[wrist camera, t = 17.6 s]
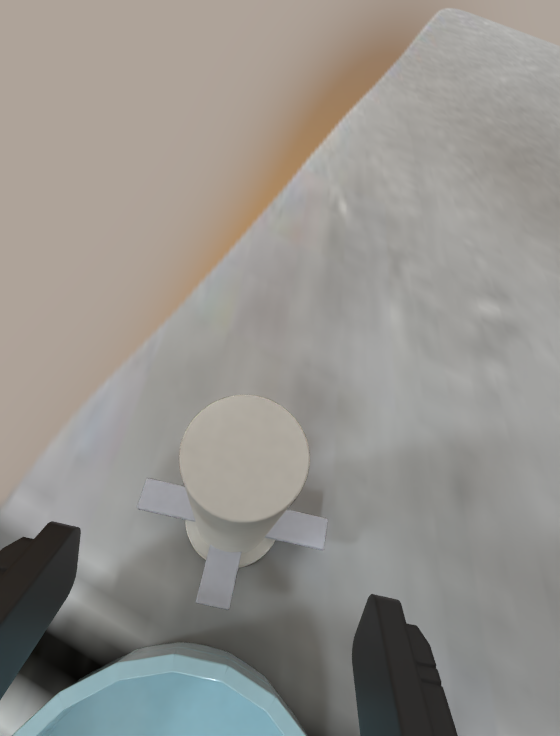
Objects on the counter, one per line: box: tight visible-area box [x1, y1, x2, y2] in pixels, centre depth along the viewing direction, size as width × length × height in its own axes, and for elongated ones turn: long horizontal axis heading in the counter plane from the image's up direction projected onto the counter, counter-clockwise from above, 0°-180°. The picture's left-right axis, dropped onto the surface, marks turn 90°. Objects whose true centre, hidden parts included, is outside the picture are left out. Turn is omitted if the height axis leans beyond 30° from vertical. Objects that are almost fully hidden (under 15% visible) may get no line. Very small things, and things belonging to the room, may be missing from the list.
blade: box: [137, 395, 328, 610], centre depth 19 cm, size 10×9×13 cm
